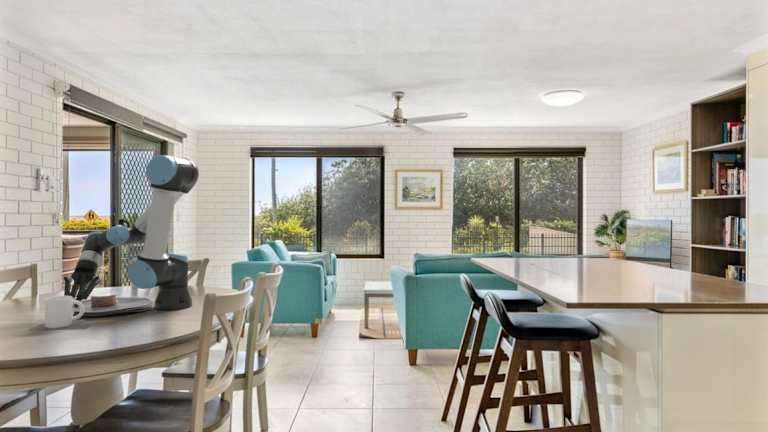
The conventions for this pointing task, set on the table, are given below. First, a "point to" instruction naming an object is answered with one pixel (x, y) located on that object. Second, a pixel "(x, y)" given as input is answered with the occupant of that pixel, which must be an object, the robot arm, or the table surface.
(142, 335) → the table surface
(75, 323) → the t mat
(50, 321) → the mug
